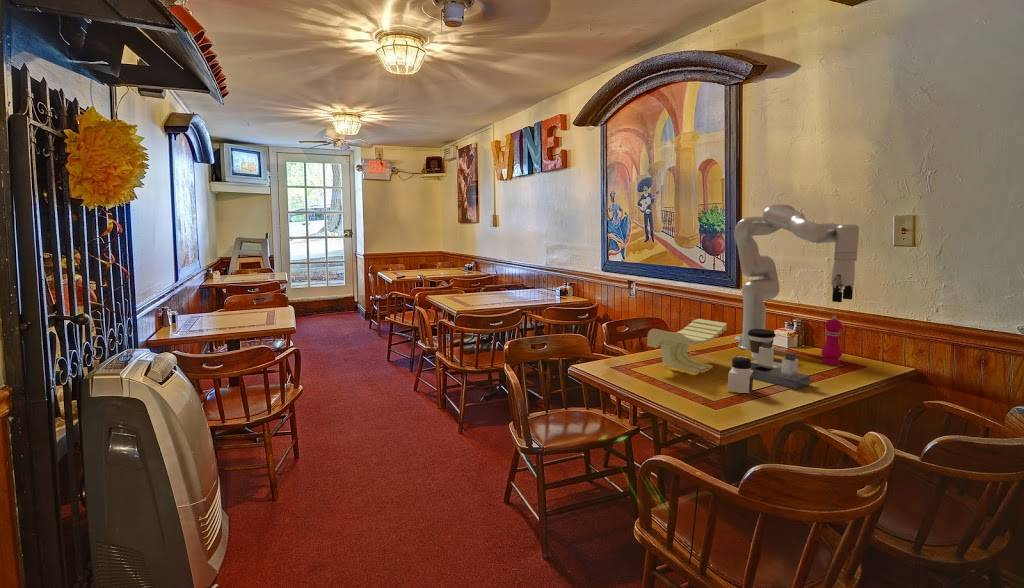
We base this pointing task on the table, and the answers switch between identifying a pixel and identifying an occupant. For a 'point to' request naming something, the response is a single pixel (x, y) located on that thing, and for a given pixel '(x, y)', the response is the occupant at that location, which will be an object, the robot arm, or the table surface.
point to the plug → (766, 354)
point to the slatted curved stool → (685, 343)
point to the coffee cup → (759, 340)
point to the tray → (775, 364)
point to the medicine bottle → (740, 375)
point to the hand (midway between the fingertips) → (842, 300)
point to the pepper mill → (832, 342)
